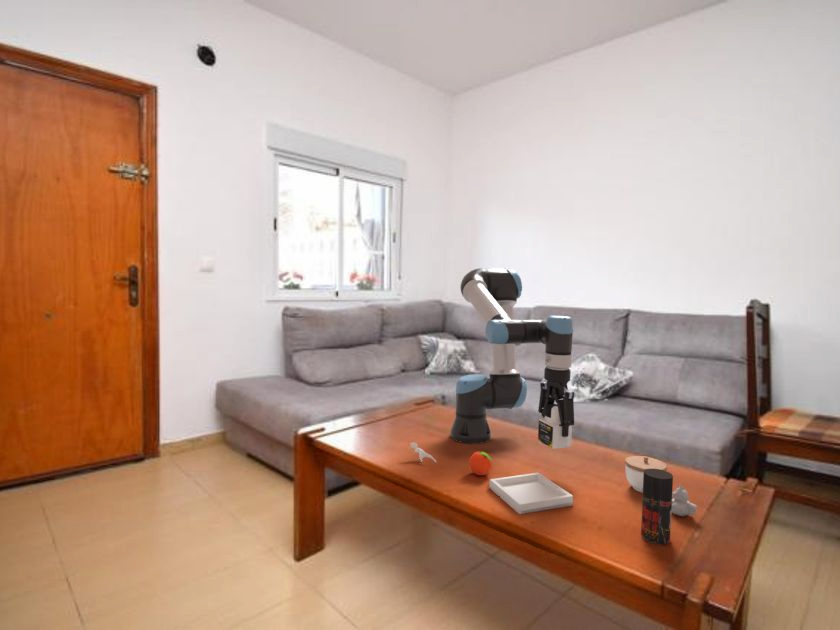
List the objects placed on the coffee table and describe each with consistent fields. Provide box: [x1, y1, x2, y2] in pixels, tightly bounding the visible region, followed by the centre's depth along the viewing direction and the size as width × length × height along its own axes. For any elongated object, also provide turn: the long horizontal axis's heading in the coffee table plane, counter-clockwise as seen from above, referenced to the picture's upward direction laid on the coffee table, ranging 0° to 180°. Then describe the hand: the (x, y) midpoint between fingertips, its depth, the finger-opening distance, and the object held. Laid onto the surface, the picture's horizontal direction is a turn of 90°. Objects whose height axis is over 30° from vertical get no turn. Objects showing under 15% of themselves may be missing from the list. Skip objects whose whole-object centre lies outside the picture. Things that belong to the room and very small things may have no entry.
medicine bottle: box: [537, 403, 573, 450], centre depth 140 cm, size 7×7×12 cm
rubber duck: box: [671, 484, 698, 517], centre depth 116 cm, size 5×7×8 cm
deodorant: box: [640, 469, 674, 546], centre depth 105 cm, size 6×6×15 cm
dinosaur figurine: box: [409, 441, 437, 463], centre depth 150 cm, size 15×12×6 cm
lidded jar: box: [624, 455, 668, 494], centre depth 131 cm, size 11×11×9 cm
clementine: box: [468, 450, 493, 476], centre depth 140 cm, size 8×7×7 cm
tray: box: [489, 472, 574, 515], centre depth 126 cm, size 16×16×2 cm
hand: (554, 441), depth 140 cm, fingers closed on medicine bottle, 7 cm apart
